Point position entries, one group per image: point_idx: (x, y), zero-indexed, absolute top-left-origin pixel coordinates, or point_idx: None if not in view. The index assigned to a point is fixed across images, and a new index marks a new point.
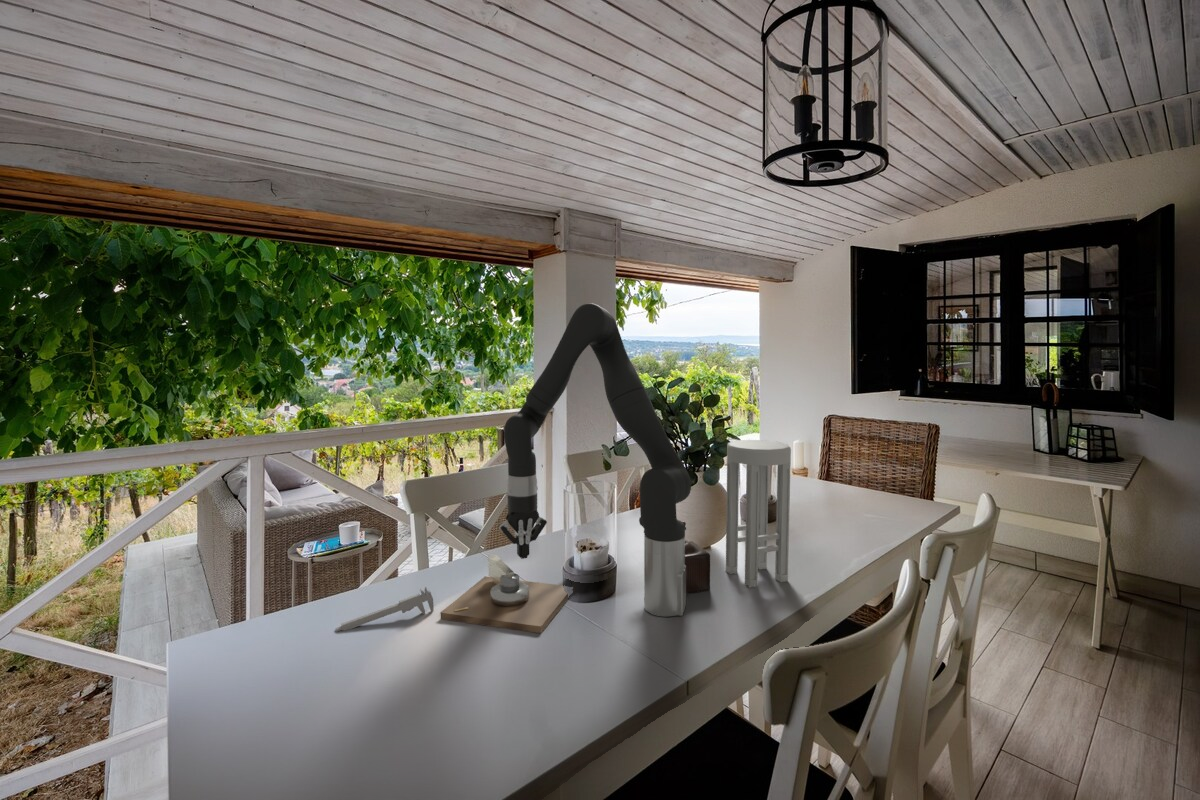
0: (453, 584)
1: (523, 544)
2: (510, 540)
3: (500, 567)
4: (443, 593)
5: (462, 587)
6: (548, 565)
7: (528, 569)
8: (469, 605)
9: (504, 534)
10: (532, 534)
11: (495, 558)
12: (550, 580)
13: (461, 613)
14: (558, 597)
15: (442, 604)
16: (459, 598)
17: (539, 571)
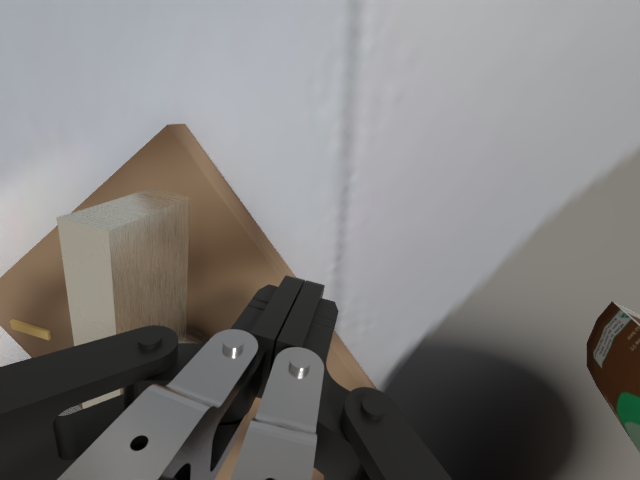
0: (55, 43)
1: (262, 387)
2: (99, 411)
3: (85, 402)
4: (11, 114)
5: (86, 109)
6: (578, 152)
7: (444, 124)
8: (57, 322)
9: (11, 367)
10: (358, 470)
11: (90, 288)
12: (427, 311)
13: (30, 345)
14: (314, 468)
15: (5, 205)
16: (33, 256)
17: (468, 192)
